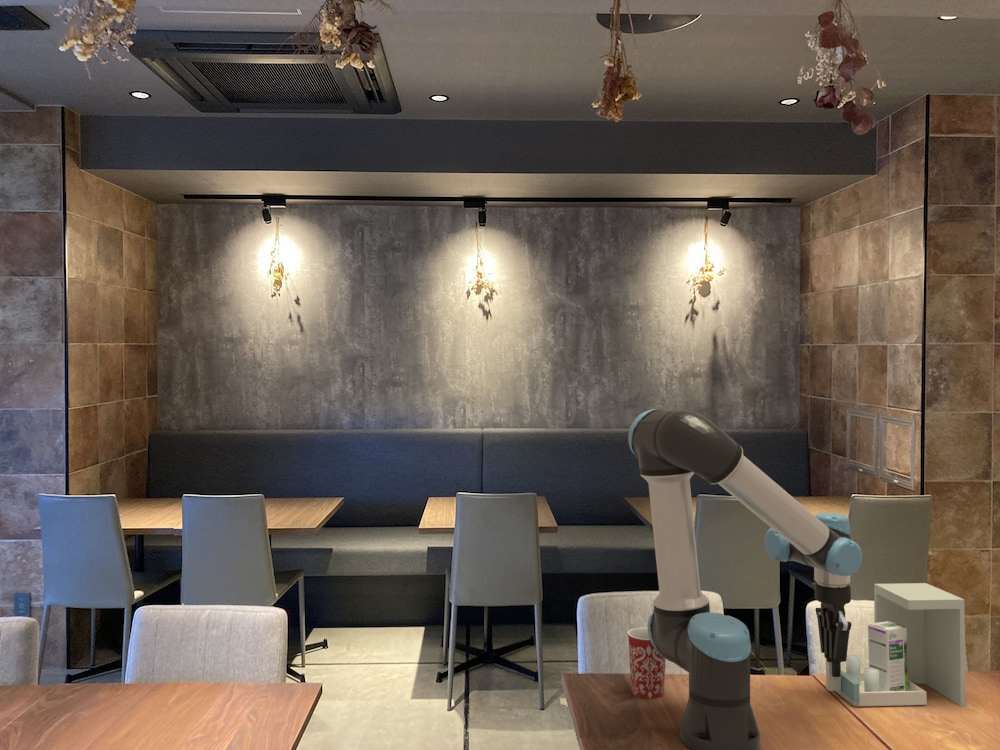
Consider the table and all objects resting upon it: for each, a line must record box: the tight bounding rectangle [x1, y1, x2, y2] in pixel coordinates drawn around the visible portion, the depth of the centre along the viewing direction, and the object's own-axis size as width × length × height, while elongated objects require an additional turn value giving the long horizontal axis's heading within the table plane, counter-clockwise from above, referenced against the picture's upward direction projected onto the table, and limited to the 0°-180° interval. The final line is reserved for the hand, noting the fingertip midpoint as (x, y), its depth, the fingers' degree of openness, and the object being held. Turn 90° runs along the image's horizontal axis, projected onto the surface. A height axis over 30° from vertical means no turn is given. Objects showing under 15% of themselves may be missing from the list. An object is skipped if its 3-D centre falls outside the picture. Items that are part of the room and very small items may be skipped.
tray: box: [835, 654, 928, 707], centre depth 188 cm, size 16×13×7 cm
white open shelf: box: [873, 582, 966, 707], centre depth 189 cm, size 12×15×23 cm
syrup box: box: [867, 621, 908, 691], centre depth 188 cm, size 6×6×14 cm
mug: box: [627, 627, 667, 699], centre depth 192 cm, size 13×9×14 cm
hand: (833, 689), depth 188 cm, fingers closed
